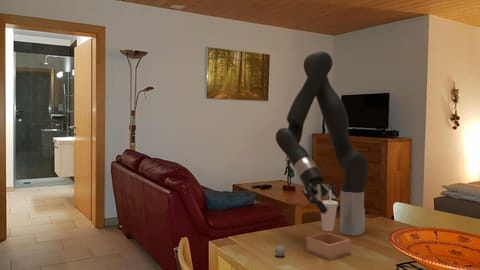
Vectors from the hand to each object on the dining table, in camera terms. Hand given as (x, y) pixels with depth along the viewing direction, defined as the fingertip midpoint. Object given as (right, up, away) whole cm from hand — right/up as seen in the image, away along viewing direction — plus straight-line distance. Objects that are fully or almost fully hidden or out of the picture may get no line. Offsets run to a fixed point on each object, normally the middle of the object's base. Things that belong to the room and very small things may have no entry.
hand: (332, 211), depth 136 cm
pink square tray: (-1, -15, +2) cm, 15 cm away
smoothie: (-1, -7, +2) cm, 7 cm away
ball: (-18, -15, -1) cm, 23 cm away
